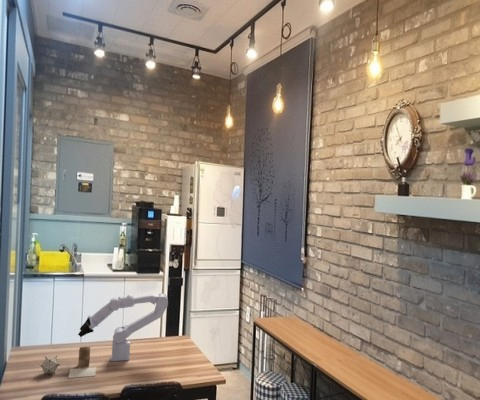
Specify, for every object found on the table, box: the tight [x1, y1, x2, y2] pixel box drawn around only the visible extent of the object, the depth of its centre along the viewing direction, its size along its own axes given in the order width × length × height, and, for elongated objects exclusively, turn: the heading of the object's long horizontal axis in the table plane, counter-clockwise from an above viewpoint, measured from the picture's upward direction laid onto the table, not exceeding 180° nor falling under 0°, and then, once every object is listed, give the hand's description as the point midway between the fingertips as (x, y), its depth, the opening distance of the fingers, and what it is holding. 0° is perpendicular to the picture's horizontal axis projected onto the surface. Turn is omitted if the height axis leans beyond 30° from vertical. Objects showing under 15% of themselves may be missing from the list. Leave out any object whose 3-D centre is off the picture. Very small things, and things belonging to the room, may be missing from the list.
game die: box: [39, 355, 61, 376], centre depth 191 cm, size 9×8×10 cm
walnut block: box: [77, 346, 91, 369], centre depth 201 cm, size 5×5×9 cm
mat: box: [67, 367, 97, 379], centre depth 193 cm, size 12×10×1 cm
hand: (80, 332), depth 209 cm, fingers open, 7 cm apart
